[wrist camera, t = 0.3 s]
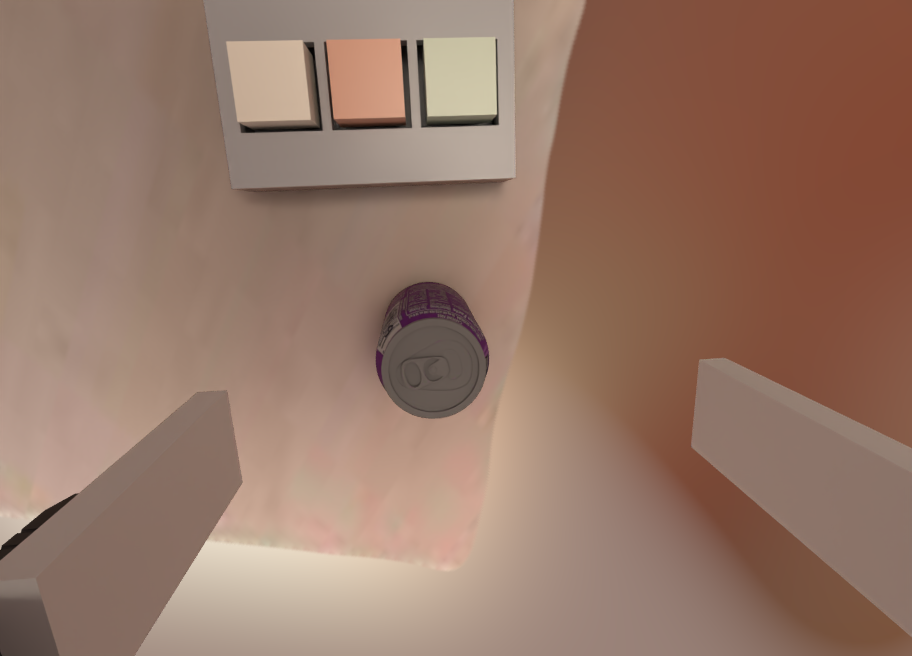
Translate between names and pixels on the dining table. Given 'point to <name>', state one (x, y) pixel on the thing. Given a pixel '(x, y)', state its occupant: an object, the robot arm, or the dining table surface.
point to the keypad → (376, 147)
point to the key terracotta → (366, 82)
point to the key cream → (273, 84)
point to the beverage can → (431, 352)
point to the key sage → (460, 80)
